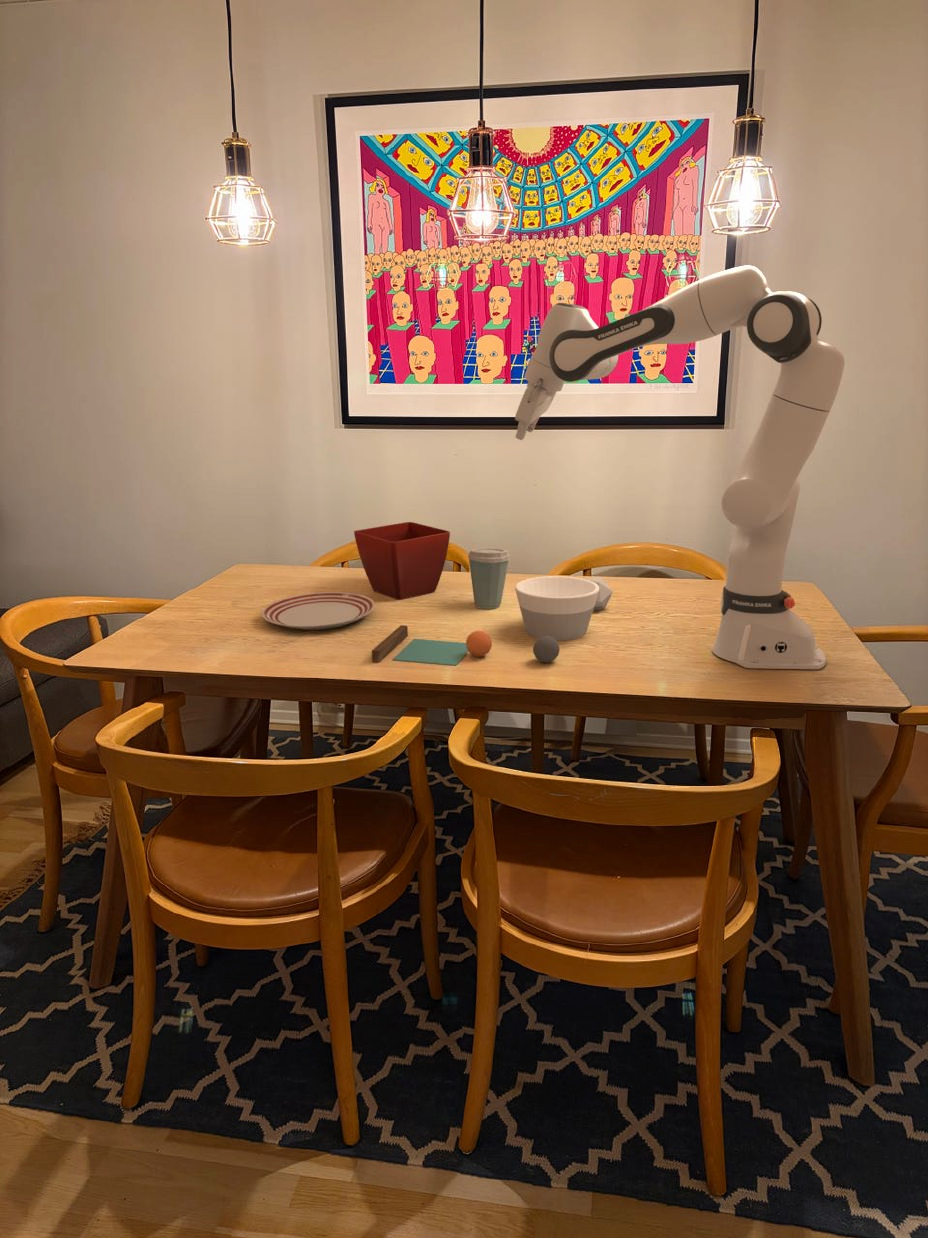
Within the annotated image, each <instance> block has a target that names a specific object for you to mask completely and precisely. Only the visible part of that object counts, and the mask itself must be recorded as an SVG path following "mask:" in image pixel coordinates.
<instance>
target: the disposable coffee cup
mask: <svg viewBox="0 0 928 1238" xmlns="http://www.w3.org/2000/svg"><path fill="white" fill-rule="evenodd" d="M467 558H468V563H469V570H470V577H471V585H472V592H473V593H472V594H473V602H474V604H475V607H476V608H478V609H482V610H493V609H498V608H500V606H501V605H502V599H503V594H504V589H505V582H506V579H507V578H506V576H507V570H508V566H509V561H510V559H511V553H509V550H507V549H505V548H499V547H478V548H472V549H471V550H470V552H469V553H468V556H467Z"/></svg>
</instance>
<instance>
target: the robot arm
mask: <svg viewBox="0 0 928 1238" xmlns="http://www.w3.org/2000/svg"><path fill="white" fill-rule="evenodd" d="M821 314H822V313H821V311H820V307H819V306H818V305H817V304H816V303H815V301H813V300H812V299H811V298H808V297H807V296H805V295H804V294H802V293H798V292H796V291H782V290H780V291H775V292H773V291H771V289H770V287H769V284H768V281H767V278H766V277H765V275H764V274H763V273H762V271H761V270H759V268H757V267H756V266H753V265H743V266H737V267H732V268H729V269H726V270H723V271H720V272H716V273H713V274H710V275H708V276H705V277H704V278H701V279H699V280H697V281H694V282H692V283H689V284H687V285H686V286H684V287H681V288H680V289H678V290H677V291H675V292H673V293H671V294H669V295H668V296H666V297H664V298H662V299H660V300H659V301H657V302H655V303H652V304H651V305H649V306H647V307H645V308H644V309H642V310H639V311H637V312H635V313H633V314H630V315H627V316H625V317H622V318H619V319H618V320H615V321H612V322H610V323H607V324H605V325H602V326H598V325H597V324H596V322H595V321H594V320H593V319H592V317H591V316H590V311H589V310H588V309H587V308H585V307H584V306H582V305H578V304H572V303H567V302H558V303H555V304H553V306H551V308H550V310H549V311H548V312H547V314H546V317H545V319H544V321H543V324H542V326H541V329H540V331H539V333H538V336H537V345H536V348H535V350H534V352H533V353H532V354H531V357H530V360H529V362H528V365H527V368H526V371H525V374H524V376H523V377H524V380H526V381H527V384H526V389H525V391H524V392H523V395H522V398H521V400H520V403H519V405H518V408H517V410H516V413H515V417H514V420H515V421H517V422H518V425H517V431H516V433H515V439H517V440H519V441H523V440H524V439H525V437H526V434H527V432H529V433H532V432H533V431H534V430H535V427H536V426H537V423H538V421H539V419H540V417H541V416H542V415H543V414H545V413H546V412H547V411H548V409H549V408H550V406H551V405H552V402H553V400H554V398H555V396H556V394H557V392H561V391H562V389H563V387H564V384H565V382H567V383H573V382H579V381H587V380H589V381H590V380H598V379H599V380H600V379H604V378H605V377H608V376H609V375H610V374H612V373H613V371H614V370H615V369H616V368H617V366H618V362H619V357H620V355H621V354H625V353H626V352H630V351H632V350H634V349H638V348H641V347H645V346H652V345H684V344H693V343H696V342H701V341H704V340H707V339H710V338H713V337H716V336H718V335H721V334H723V333H726V332H728V331H730V330H734V329H737V328H743V327H744V328H746V331H747V335H748V338H749V339H750V341H751V342H752V344H753V345H754V346H755V348H757V349H758V350H759V351H761V352H762V353H764V354H766V355H767V356H768V357H770V358H771V360H773V361H775V362H776V363H780V366H781V367H780V373H779V376H778V379H777V382H776V384H775V387H774V389H773V392H772V394H771V397H770V399H769V402H768V404H767V406H766V409H765V411H764V414H763V416H762V418H761V422H760V424H759V427H758V429H757V431H756V433H755V435H754V437H753V439H752V441H751V443H750V445H749V446H748V448H747V449H746V451H745V453H744V456H742V459H741V460H740V463H739V464H738V467H737V468H736V471H735V473H734V474H733V477H732V479H731V481H730V483H729V484H728V486H727V488H726V489H725V491H724V492H723V495H722V499H721V510H722V512H723V514H724V517H725V518H726V519H727V520H728V521H729V522H730V523H731V524H732V525H734V526H736V527H735V531H734V535H733V538H732V541H731V544H730V546H729V548H728V552H727V553H728V554H727V565H726V567H727V568H726V576H725V577H726V578H725V586H724V587H723V588H722V593H721V603H720V610H721V611H720V612H721V619H720V624H719V628H718V631H717V635H716V639H715V640H714V643H713V646H712V649H711V651H712V653H713V654H714V655H715V656H716V657H719V658H721V659H724V660H725V661H729V662H733V663H735V664H737V665H739V666H741V667H744V668H746V669H766V670H767V669H773V670H775V669H776V670H777V669H778V670H779V669H780V670H820V669H822V668H824V667H825V666H826V662H827V661H826V660H827V659H826V654H825V652H824V650H822V649H821V648H820V647H818V646H817V644H816V636H815V633H814V631H813V630H814V629H812V627H811V626H810V625H809V623H807V622H806V621H805V620H804V619H802V618H801V616H799V615H798V614H797V613H795V612H794V611H792V609H793V608H794V607H795V605H796V601H795V599H794V598H793V597H792V595H791V594H789V592H788V591H787V590H786V591H785V590H783V589H782V586H783V579H784V578H783V577H784V571H785V570H784V569H785V562H786V561H785V560H786V555H787V549H788V544H789V540H790V536H791V531H792V528H793V522H794V518H795V512H796V507H797V502H798V500H799V495H800V483H799V480H798V476H799V474H800V473H801V471H802V469H803V467H804V466H805V464H806V462H807V461H808V459H809V457H810V456H811V455H812V453H813V451H814V449H815V447H816V445H817V442H818V440H819V438H820V436H821V432H822V430H823V428H824V426H825V424H826V421H827V419H828V417H829V414H830V413H831V411H832V410H831V409H832V408H833V405H834V402H835V400H836V397H837V394H838V391H839V387H840V384H841V381H842V377H843V373H844V368H845V356H844V355H843V353H842V352H841V351H840V349H838V348H837V347H836V346H835V345H832V344H830V343H828V342H825V341H822V340H821V339H820V338H819V337H818V336H819V334H820V332H821V328H822V323H823V322H822V321H823V319H822V315H821Z"/></svg>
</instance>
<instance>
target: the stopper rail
mask: <svg viewBox="0 0 928 1238" xmlns="http://www.w3.org/2000/svg"><path fill="white" fill-rule="evenodd" d="M408 631H409V630H408V625H406V624H405V625H403V624H402V625H401V624H400V625H399V626H398V627H397V628H396V629H394V631H393V632H391V633H390V634H389V635H388V636H387V637H386V638H384V639H383V640H382V641H381V642H380V643H379V644H377V646H375V647H374V648H373V649H372V650H371V662H372V663H380V662H382V660H384V659H385V658H386V657H387V656H388V655H389V654H391V652H392V651H393V650H395V649H396V648H397V647H398V646H399V645H400V644H401V643H403V641H404V640H405V639H407V638H408V636H409V632H408Z"/></svg>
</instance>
